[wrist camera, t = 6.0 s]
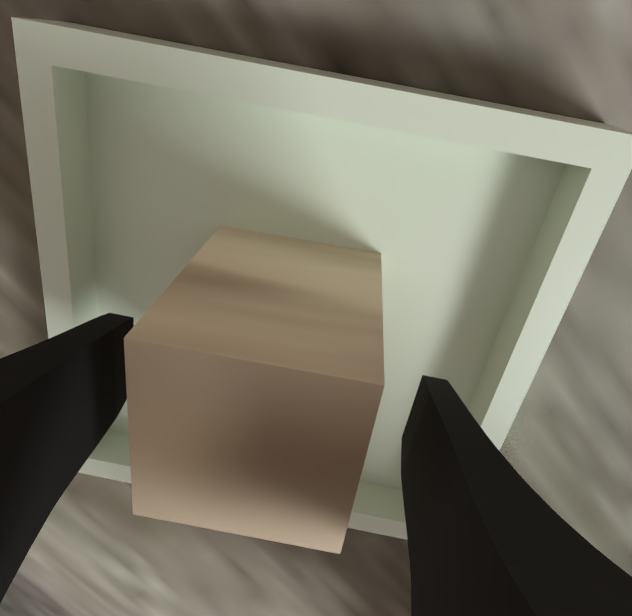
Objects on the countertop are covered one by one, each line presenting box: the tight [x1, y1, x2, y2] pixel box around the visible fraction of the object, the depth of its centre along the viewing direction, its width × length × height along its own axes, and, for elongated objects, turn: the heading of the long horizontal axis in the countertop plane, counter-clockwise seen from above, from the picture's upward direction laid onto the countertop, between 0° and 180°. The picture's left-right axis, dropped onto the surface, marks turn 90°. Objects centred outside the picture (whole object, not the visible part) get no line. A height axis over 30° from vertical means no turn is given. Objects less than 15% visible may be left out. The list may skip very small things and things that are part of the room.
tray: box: [11, 17, 632, 540], centre depth 15 cm, size 14×14×2 cm
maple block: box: [124, 226, 385, 554], centre depth 12 cm, size 4×4×6 cm
